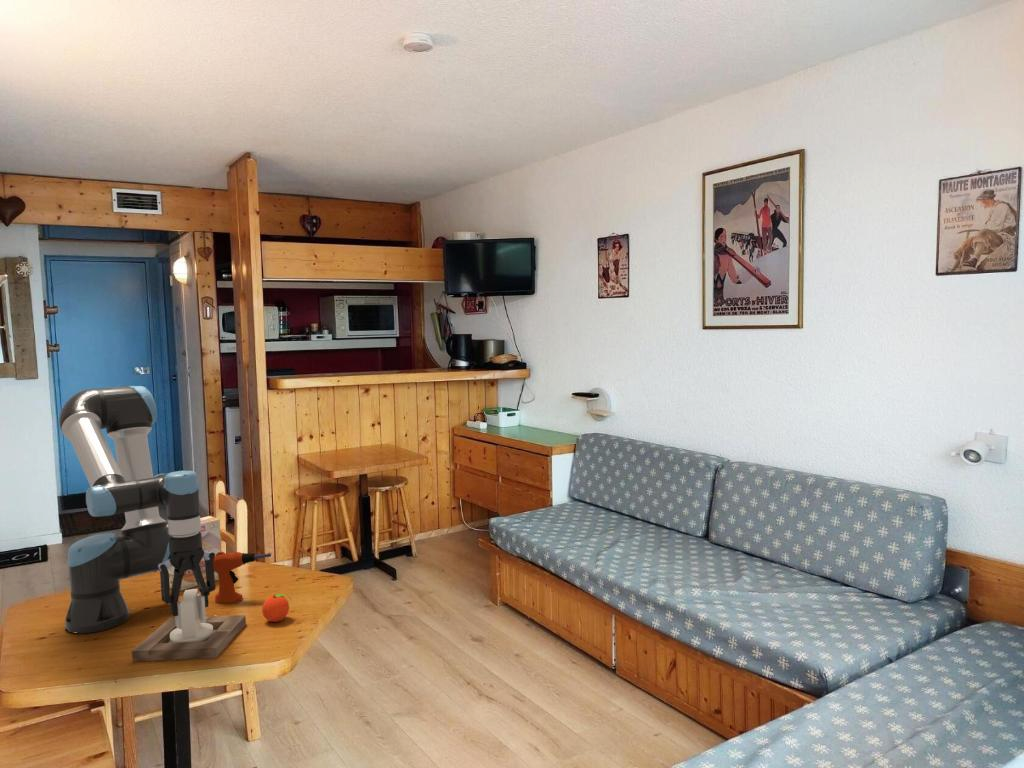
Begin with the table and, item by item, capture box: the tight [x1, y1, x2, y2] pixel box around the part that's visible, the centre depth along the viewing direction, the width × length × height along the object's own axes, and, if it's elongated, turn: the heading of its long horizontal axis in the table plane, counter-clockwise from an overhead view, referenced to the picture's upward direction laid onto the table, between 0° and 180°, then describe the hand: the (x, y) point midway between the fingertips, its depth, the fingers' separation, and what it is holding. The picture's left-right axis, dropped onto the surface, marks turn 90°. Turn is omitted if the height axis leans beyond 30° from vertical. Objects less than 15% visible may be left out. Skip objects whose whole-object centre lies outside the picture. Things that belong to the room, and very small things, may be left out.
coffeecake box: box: [167, 515, 222, 592], centre depth 227 cm, size 15×7×20 cm, turn 139°
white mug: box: [170, 588, 213, 643], centre depth 184 cm, size 14×10×11 cm
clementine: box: [261, 593, 292, 623], centre depth 195 cm, size 8×7×7 cm
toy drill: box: [213, 551, 272, 604], centre depth 210 cm, size 5×19×15 cm, turn 86°
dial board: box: [131, 614, 247, 662], centre depth 183 cm, size 20×20×3 cm
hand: (191, 623), depth 182 cm, fingers open, 5 cm apart
